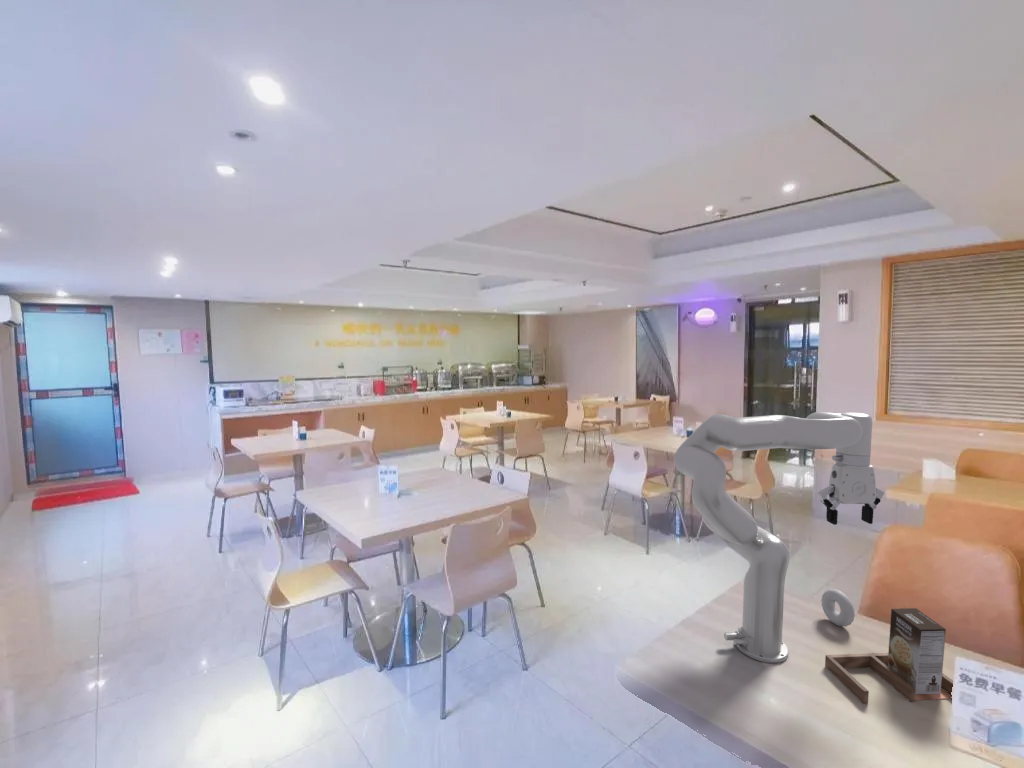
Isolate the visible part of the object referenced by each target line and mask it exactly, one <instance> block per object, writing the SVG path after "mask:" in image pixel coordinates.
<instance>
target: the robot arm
mask: <svg viewBox="0 0 1024 768" xmlns="http://www.w3.org/2000/svg"><path fill="white" fill-rule="evenodd" d="M872 435H873V418H872V417H871V416H870V415H869V414H866V413H863V412H851V411H850V412H849V411H848V412H842V413H836V412H835V413H833V412H827V411H825V412H824V411H815V412H812V413H810V414H809V415H807V416H806V418H805V417H803V418H802V417H796V416H790V415H784V414H783V415H782V414H772V415H771V414H770V415H760V416H759V415H757V416H756V415H755V416H742V417H735V416H734V417H733V416H731V415H726V414H722V413H717V414H714V415H712V416H710V417H708V418H707V419H706V420H705V421H703V422H702V423H701V424H700V425H699V426H698V427H697V428H696V429H695V430H694V431H693V432H692V433H691V434H690V435H689V436H688V437H687V438H686V439H685V440H684V441H683V442H682V444H680V445H679V447H678V448H677V450H676V452H675V454H674V457H673V458H674V459H673V460H674V466H675V467H676V469H677V470H678V472H679V473H681V474H682V475H684V476H686V477H687V478H689V479H691V480H693V483H692V489H691V501H692V503H693V506H694V507H695V509H696V510H697V512H699V514H700V515H702V517H701V518H702V520H703V523H704V524H705V525H706V528H708V529H709V530H710V531H711V532H712V533H713V534H714V535H715V536H717V537H718V538H719V539H720V540H721V541H722V542H723V543H724V544H725V545H727V546H728V548H730V549H731V550H733V551H734V552H735V553H736V554H738V555H739V556H740V557H742V558H743V559H744V560H745V561H747V562H748V563H749V567H748V570H747V571H746V573H745V575H744V579H743V597H742V600H743V601H742V602H743V603H742V624H741V626H738V627H737V628H738V629H737V630H735V632H729V631H728V632H724V633H723V637H724V640H725V641H733V642H732V643H733V645H735V646H736V647H737V649H738V650H739V651H740V652H742V654H744V655H745V656H747V657H749V658H751V659H753V660H756V661H759V662H764V663H771V664H775V663H781V662H784V661H786V660H787V659H788V657H789V648H788V646H787V645H786V644H785V642H783V627H784V626H783V622H784V621H783V620H784V603H785V602H784V600H785V599H784V598H785V597H784V596H785V584H786V583H785V582H786V576H787V571H788V569H789V564H790V561H791V557H790V556H791V555H790V551H789V548H788V547H787V545H786V544H785V542H783V540H781V539H780V538H779V537H778V536H776V535H774V534H772V533H771V532H770V531H768V530H766V529H764V528H762V527H761V526H759V525H758V524H757V521H756V519H754V517H753V515H751V514H750V512H748V510H746V509H745V508H744V507H743V506H741V504H739V503H738V502H737V501H736V500H735V499H733V498H732V496H730V494H729V493H728V492H727V491H726V487H725V485H726V478H727V467H726V465H725V462H724V461H723V459H722V458H721V457H720V456H719V455H718V454H716V452H717V451H718V450H719V448H723V449H726V450H729V451H730V452H731V451H732V452H745V451H746V452H747V451H755V450H756V451H757V450H770V449H780V448H781V449H790V450H791V449H792V450H793V449H795V450H796V449H798V450H800V449H801V450H803V449H804V450H835V455H832V457H831V458H832V461H835V463H833V465H832V467H831V471H830V476H829V482H828V486H826V487H825V488H823V489H820V490H819V491H818V492H817V494H818V497H819V499H820V502H821V503H822V504H823V505H824V507H826V513H825V514H826V521H827V522H828V523H830V524H832V525H838V515H839V511H838V510H837V508H838V507H839V506H840V504H842V505H862V506H861V521H862V522H865V523H867V524H869V525H872V524H873V520H874V510H876V508H877V506H878V505H879V503H880V502H882V501H881V499H882V498H883V496H884V494H885V492H884V491H882V490H881V489H879V488H877V487H876V485H877V484H876V475H875V470H874V469H875V468H874V467H873V465H872V464H871V453H872V452H871V451H872Z"/></svg>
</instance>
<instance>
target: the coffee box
mask: <svg viewBox="0 0 1024 768" xmlns="http://www.w3.org/2000/svg"><path fill="white" fill-rule="evenodd" d="M890 610H891V613H890V626H889V638H888V639H889V641H888V652H887V653H888V667H889V668H890V669H891V670H893V671H894V672H895V673H896V674H898V675H899V676H900V677H901V678H902V679H904V680H905V681H906V682H907V683H909V684H910V685H911V686H912V687H913V688H915V689H916V691H915V694H940V693H941V689H942V688H941V682H942V673H943V668H944V658H945V657H944V655H945V645H946V643H945V642H946V633H947V632H946V631H947V629H946V628H945V627H943V626H942V625H940V624H939V623H938V622H936V621H935V620H933V619H932V618H931V617H929V616H928V615H927V614H924V613H923V612H922V611H921V610H920V609H918V608H913V607H911V608H910V607H909V608H908V607H907V608H905V607H904V608H903V607H902V608H901V607H900V608H891V609H890Z"/></svg>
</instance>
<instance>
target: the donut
mask: <svg viewBox="0 0 1024 768" xmlns="http://www.w3.org/2000/svg"><path fill="white" fill-rule="evenodd" d="M821 596H822V597H821V600H820V601H821V606H822V611H823V613H824V615H825V616H826V618H828V620H829V621H830V622H831V623H833V624H835V625H837V626H838V627H848V626H850V625H851V624H852V623H853V622H854V620H855V614H856V613H855V608H854V605H853V603H852V601H851V599H850V598H849V597H848V595H847V594H845V592H843V591H841V590H839V589H837V588H828V589H827V590H825V591H824V592H823V594H822V595H821ZM835 603H837V604H838V607H839V609H840V612H839V611H838V610H837V607H836V604H835Z"/></svg>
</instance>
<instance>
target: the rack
mask: <svg viewBox="0 0 1024 768" xmlns="http://www.w3.org/2000/svg"><path fill="white" fill-rule="evenodd" d="M824 666H825V668H826V669H827V670H828V671H829V672H830V673H831V674H832V675H833V676H835V678H836V679H838V680H839V681H840V683H842V684H843V685H844V687H846V689H848V690H849V691H850V693H852V694H853V695H854V696H855V697H856V698H857V699H858V700H859V701H860V702H861V703H863V704H864V705H865V704H866V705H867V704H869V694H870V693H869V690H868V689H867V688H866V687H865V686H864V685H862V683H861V682H859V680H857V679H856V678H855V677H854V676H853V675H852V674H851V673H850V672H849V671H847V670H846V669H859V668H860V669H861V668H863V669H864V668H865V669H866V668H869V669H871V670H873V671H874V672H875V673H876V674H877V675H879V677H881V678H882V679H883V680H884V681H885V682H887V684H889V685H890V686H892V687H893V688H894V690H896V691H897V692H898V693H900V694H901V695H902V696H903V697H904V698H905V699H906V700H908V701H909V702H910V703H915V702H916V701H928V700H929V701H931V700H932V701H933V700H934V701H935V700H936V699H937V700H952V699H951V692H952V687H953V681H954V680H953V679H951V678H950V677H948V676H947V675H946V674H944V673H943V672H942V682H941V693H940V694H915V691H916V689H915V688H913V687H912V686H911V685H910V684H909V683H907V682H906V681H905V680H904V679H902V678H901V677H900V676H899V675H898V674H896V673H895V672H894V671H893V670H891V669H890V668H889V667H888V652H874V653H873V652H872V653H871V652H870V653H846V654H845V653H844V654H826V655H825V659H824Z"/></svg>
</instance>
